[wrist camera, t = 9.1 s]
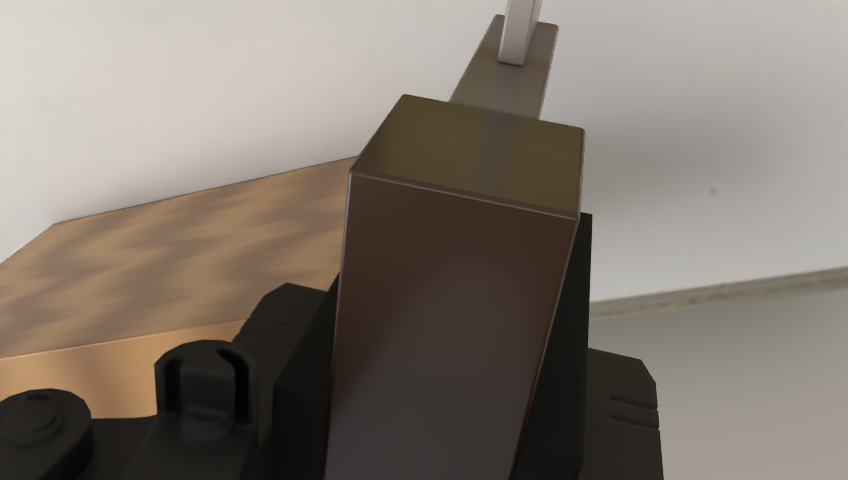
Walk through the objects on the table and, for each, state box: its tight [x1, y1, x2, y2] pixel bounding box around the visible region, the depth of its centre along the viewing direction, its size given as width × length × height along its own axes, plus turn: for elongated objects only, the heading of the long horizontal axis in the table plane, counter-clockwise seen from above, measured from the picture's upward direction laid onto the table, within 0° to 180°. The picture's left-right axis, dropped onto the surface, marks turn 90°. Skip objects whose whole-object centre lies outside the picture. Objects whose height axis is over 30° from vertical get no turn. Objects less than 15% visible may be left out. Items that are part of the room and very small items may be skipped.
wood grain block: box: [0, 156, 358, 418], centre depth 34 cm, size 24×6×14 cm, turn 108°
